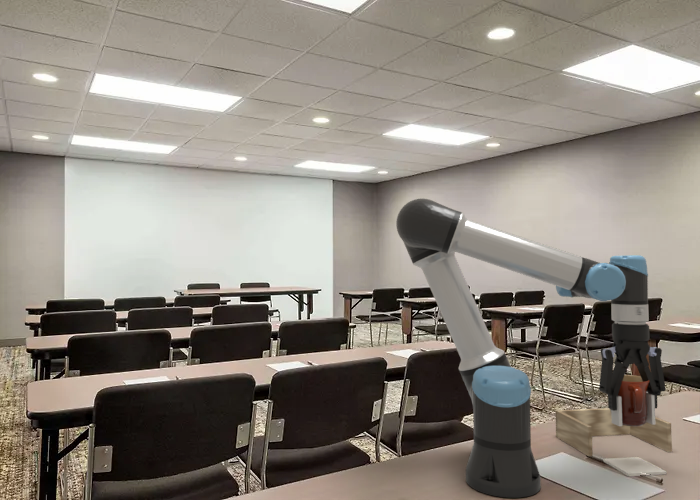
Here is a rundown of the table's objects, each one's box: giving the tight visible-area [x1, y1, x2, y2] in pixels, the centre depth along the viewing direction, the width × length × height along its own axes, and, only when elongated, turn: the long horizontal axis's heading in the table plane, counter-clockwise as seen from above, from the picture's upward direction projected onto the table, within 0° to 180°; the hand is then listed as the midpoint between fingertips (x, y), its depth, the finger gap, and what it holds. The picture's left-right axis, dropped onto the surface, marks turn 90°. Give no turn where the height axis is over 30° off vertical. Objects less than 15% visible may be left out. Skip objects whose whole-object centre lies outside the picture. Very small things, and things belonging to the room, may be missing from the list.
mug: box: [610, 374, 650, 427], centre depth 118 cm, size 12×9×10 cm
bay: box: [555, 407, 673, 457], centre depth 134 cm, size 22×15×7 cm
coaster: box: [602, 456, 668, 477], centre depth 118 cm, size 9×9×1 cm
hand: (633, 423), depth 118 cm, fingers closed on mug, 7 cm apart
